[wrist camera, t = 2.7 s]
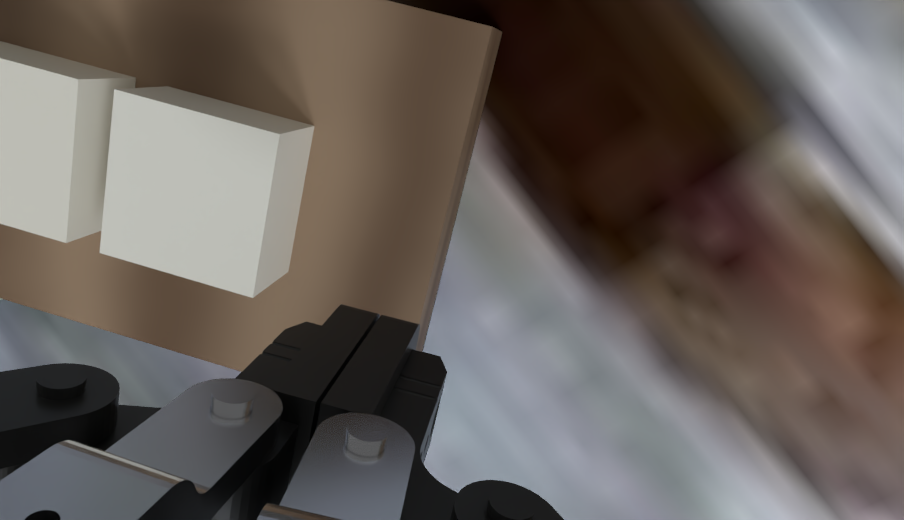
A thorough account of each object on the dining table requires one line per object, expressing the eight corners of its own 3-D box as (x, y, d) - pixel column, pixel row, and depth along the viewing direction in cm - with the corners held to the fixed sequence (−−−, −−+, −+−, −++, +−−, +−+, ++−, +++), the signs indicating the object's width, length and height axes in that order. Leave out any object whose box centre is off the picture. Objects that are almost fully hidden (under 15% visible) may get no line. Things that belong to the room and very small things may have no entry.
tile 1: (314, 125, 20) (279, 134, 17) (288, 271, 21) (252, 297, 19) (167, 86, 20) (114, 89, 18) (151, 232, 21) (99, 252, 19)
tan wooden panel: (502, 31, 21) (491, 26, 18) (415, 377, 25) (395, 418, 22) (52, -82, 22) (-23, -103, 20) (32, 263, 26) (-35, 287, 23)
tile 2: (136, 77, 20) (78, 79, 18) (121, 223, 22) (66, 242, 19) (-4, 39, 21) (-79, 36, 18) (-10, 185, 22) (-81, 200, 20)
